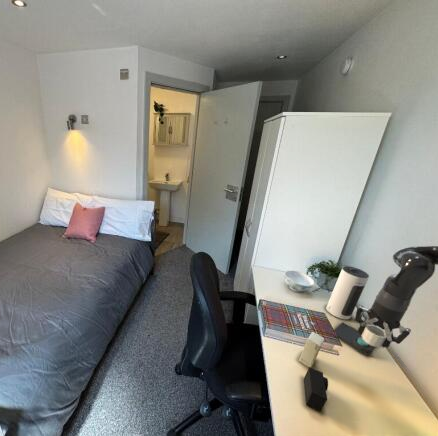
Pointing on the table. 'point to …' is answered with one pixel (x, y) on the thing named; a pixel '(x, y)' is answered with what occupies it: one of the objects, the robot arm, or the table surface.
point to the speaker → (347, 292)
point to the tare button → (362, 342)
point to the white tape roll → (373, 335)
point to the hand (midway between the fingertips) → (371, 339)
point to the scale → (351, 337)
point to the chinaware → (298, 281)
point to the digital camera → (315, 389)
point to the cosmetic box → (311, 349)
